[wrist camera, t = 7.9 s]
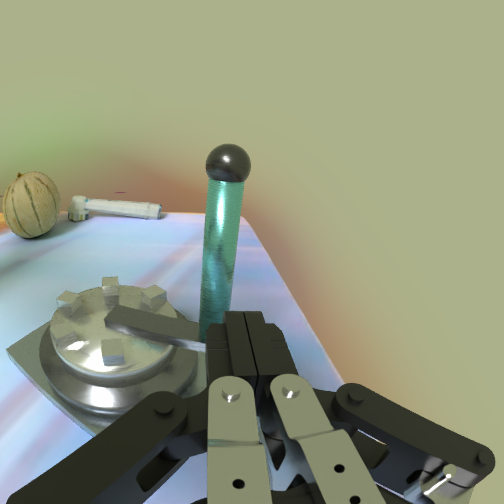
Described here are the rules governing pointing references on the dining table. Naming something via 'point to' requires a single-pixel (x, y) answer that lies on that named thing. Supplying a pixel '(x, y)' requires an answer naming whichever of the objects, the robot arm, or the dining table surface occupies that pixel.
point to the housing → (93, 397)
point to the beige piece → (111, 208)
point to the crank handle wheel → (154, 298)
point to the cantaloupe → (31, 204)
